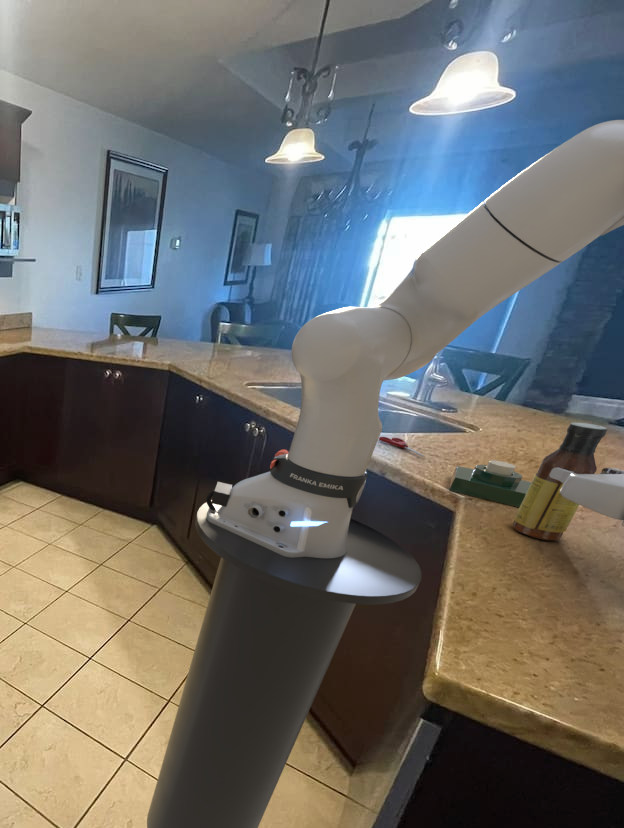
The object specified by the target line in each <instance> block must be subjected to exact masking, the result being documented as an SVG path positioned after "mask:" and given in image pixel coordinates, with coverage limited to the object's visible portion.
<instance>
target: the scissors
mask: <svg viewBox="0 0 624 828" xmlns="http://www.w3.org/2000/svg"><path fill="white" fill-rule="evenodd" d="M378 441H381V442H383V443H386V444H389V445H392V446H396V447H398V448H401V449H405V450H407V451H410V452H412V453H414V454H416V455H418V456H420V457H424V455H423V454H422V453H420V452H418V451H416V450H414V449H412V448H410V447H409V445H408V444H407V442H406V441H405V440H404V439H402V438H400V437H392V438H390V437H387V436H379V439H378Z"/></svg>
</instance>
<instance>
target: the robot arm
mask: <svg viewBox="0 0 624 828" xmlns="http://www.w3.org/2000/svg"><path fill="white" fill-rule="evenodd" d="M623 226H624V119H614V120H607V121H603V122H600V123H597V124H593V125H592V126H590V127H587V128H586V129H584V130H582V131H580V132H579V133H577V134H575V135H574V136H572V137H571V138H569V139H567V140H566V141H565V142H563V143H561V144H560V145H558V146H557V147H555V148H554V149H552V150H551V151H549V152H548V153H546V154H545V155H544V156H542V157H540V158H539V159H538V160H535V162H533V163H532V164H530V165H528V166H527V167H526V168H525V169H523V170H521V172H519V173H517V175H515V176H514V177H512V178H511V179H510V180H508V181H507V182H505V184H503V185H502V186H501V187H500V188H498V189H497V190H496V191H494V192H493V193H492V194H490V196H488V197H487V198H486V199H484V200H483V201H481V203H479V205H477V206H476V207H475V208H474V209H473V210H471V211H470V212H469V213H468V214H466V215H465V216H464V217H463V218H461V219H460V220H459V221H458V222H457V223H455V224H454V225H453V226H452V227H451V228H449V229H448V230H446V232H445V233H443V234H442V235H441V236H439V237H438V238H437V239H436V240H434V241H433V242H432V243H431V244H430V245H429V246H428V247H426V248H425V249H424V250H422V251H421V252H420V254H418V255H417V257H415V260H414V261H413V264H412V268H411V269H410V271H409V272H408V273H407V275H406V276H405V277H404V278H403V280H402V281H401V282H400V283H399V284H398V285H397V286H396V287H395V289H394V290H393V291H391V293H390V294H389V295H388V296H387V297H385V298H384V299H383V300H381V301H379V302H378V303H376V304H374V305H372V306H345V307H340V308H337V309H334V310H331V311H327V312H324V313H322V314H319V315H317V316H314V317H313V318H311V319H309V320H308V321H307V322H306V323H304V325H302V326H301V327H300V329H299V330H298V331H297V333H296V335H295V336H294V339H293V342H292V345H291V360H292V363H293V365H294V367H295V369H296V371H297V372H298V374H299V376H300V382H301V383H300V387H301V389H300V391H301V397H300V398H301V400H300V409H299V410H300V411H299V415H298V421H297V424H296V427H295V430H294V433H293V436H292V440H291V443H290V446H289V450H287V449H280V450H278V451H277V452H276V453H275V454H274V457H272V460H271V462H270V466H269V471H267V472H264V473H260V474H257V475H254V476H251V477H248V478H245V479H242V480H240V481H238V482H237V483H235V484H234V485H233V484H230V483H225V482H220V481H217V482H216V485H215V488H214V489H212V490H211V491H209V492H208V494H207V495H206V496H205V497H206V498H205V501H206V502H207V505H208V506H209V509H208V512H207V515H206V516H207V519H208V521H209V522H211V523H213V524H215V525H217V526H219V527H221V528H224V529H226V530H228V531H230V532H232V533H235V534H237V535H239V536H241V537H243V538H245V539H248V540H250V541H252V542H254V543H256V544H259V545H261V546H263V547H265V548H267V549H270V550H272V551H274V552H276V553H278V554H280V555H283V556H285V557H290V558H296V557H314V558H337V557H341V556H343V555H345V554H346V552H347V536H348V529H349V523H350V518H351V519H352V514H353V509H354V507H355V506H356V505H357V503H359V500H360V498H361V496H362V494H363V491H364V489H365V486H366V483H367V478H368V472H367V469H368V467H369V464H370V461H371V459H372V456H373V454H374V451H375V449H376V446H377V444H378V441H379V437H381V434H382V431H383V422H382V420H381V418H380V415H379V407H380V406H379V405H380V404H379V403H380V394H381V389H382V385H383V383H384V381H392V380H396V379H401V378H403V377H406V376H408V375H410V374H412V373H414V372H416V371H419V370H420V369H422V368H424V367H425V366H427V365H428V364H429V363H431V361H433V359H435V357H436V356H437V355H438V353H440V352H441V351H442V350H443V349H444V348H446V347H447V346H448V345H450V344H451V343H452V342H453V341H454V340H456V339H457V337H459V336H460V335H462V334H463V332H464V331H466V330H467V329H468V328H469V327H470V326H472V325H473V324H474V323H475V322H476V321H478V320H479V319H480V318H481V317H483V316H484V315H485V314H487V313H488V312H489V311H491V310H492V309H494V308H496V307H497V306H498V305H500V304H501V303H503V302H504V301H506V300H507V299H509V298H510V297H512V296H513V295H515V294H517V293H518V292H519V291H521V290H523V289H524V288H525V287H527V286H529V285H530V284H531V283H533V282H535V281H536V280H537V279H539V278H541V277H542V276H544V275H545V274H547V273H548V272H550V271H551V270H552V269H554V268H556V267H557V266H559V265H560V264H562V263H563V262H564V261H566V260H568V259H569V258H570V257H572V256H573V255H575V254H576V253H578V252H579V251H581V250H582V249H583V248H585V247H586V246H588V245H589V244H591V243H592V242H593V241H595V240H596V239H598V238H599V237H600V236H604V235H606V234H608V233H610V232H611V231H614V230H617V228H620V227H623ZM549 476H550V477H551V478H553V479H556V480H559V481H561V482H562V483H563V485H562V487H561V489H560V491H559V493H560V494H561V495H562V496H563V497H564V498H565V499H567V500H569V501H572V502H574V503H576V504H578V505H579V506H580V507H583V508H585V509H587V510H590V511H592V512H595V513H597V514H600V515H602V516H606V517H608V518H611V519H614V520H617V521H618V520H619V521H622V522H621V526H622V527H624V470H622V469H620V468H615V467H604V468H602V469H601V472H600V473H594V474H576V473H574V471H572V470H569V469H566V468H553V469H552V471H551V473H550V474H549ZM211 500H212V501H211ZM206 502H205V503H206Z"/></svg>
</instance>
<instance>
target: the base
mask: <svg viewBox="0 0 624 828" xmlns="http://www.w3.org/2000/svg"><path fill="white" fill-rule="evenodd" d="M486 466H487V464H476V465H475V467H474V469H473V468H469V467H464V466H460V465H456V466H455V468H454V471H453V473H452V475H451V477H450V482H449V488H448V490H449V491H450V492H455V493H460V494H463V495H466V496H471V497H475V498H479V499H482V500H487V501H492V502H496V503H499V504H503V505H506V506H507V505H508V506H512V507H516V508H518V509H519V508H520V506H521V504H522V502H523V499H524V497H525V495H526V493H527V491H528V489H529V487H530V485H531V483H532V481H529V480H523V474H521V473H519V472H517V471H515V470H514V472H513V474H512V475H511V476H508V475H501V474H497V473H493V472H490V471H487V470H485V468H486Z"/></svg>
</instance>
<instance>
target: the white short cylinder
mask: <svg viewBox="0 0 624 828" xmlns="http://www.w3.org/2000/svg"><path fill="white" fill-rule="evenodd" d="M486 465H487V466H486V468H485V470H487V471H490V472H493V473H497V474H501V475H508V476H511V475H512V474H513V472H514V471H515V470H516V468H517V466H516V465H515V464H512V463H509V462H505V461H501V460H494V459H492V460H488V462H487V464H486Z"/></svg>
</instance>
